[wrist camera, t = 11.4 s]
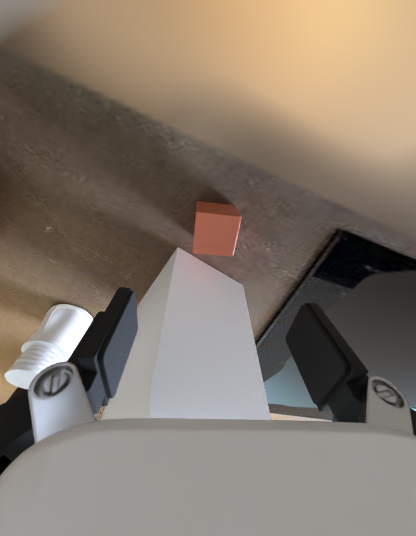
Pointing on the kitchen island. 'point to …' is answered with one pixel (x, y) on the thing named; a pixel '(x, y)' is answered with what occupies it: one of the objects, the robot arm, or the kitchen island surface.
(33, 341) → the downlight
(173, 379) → the milk
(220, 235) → the block
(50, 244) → the kitchen island surface
